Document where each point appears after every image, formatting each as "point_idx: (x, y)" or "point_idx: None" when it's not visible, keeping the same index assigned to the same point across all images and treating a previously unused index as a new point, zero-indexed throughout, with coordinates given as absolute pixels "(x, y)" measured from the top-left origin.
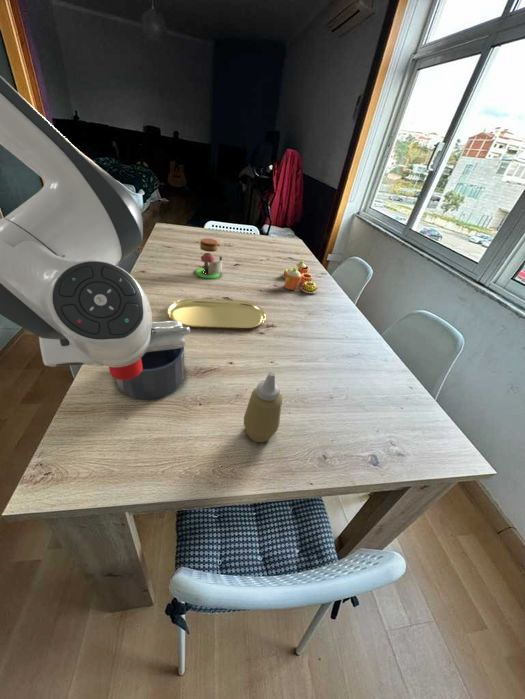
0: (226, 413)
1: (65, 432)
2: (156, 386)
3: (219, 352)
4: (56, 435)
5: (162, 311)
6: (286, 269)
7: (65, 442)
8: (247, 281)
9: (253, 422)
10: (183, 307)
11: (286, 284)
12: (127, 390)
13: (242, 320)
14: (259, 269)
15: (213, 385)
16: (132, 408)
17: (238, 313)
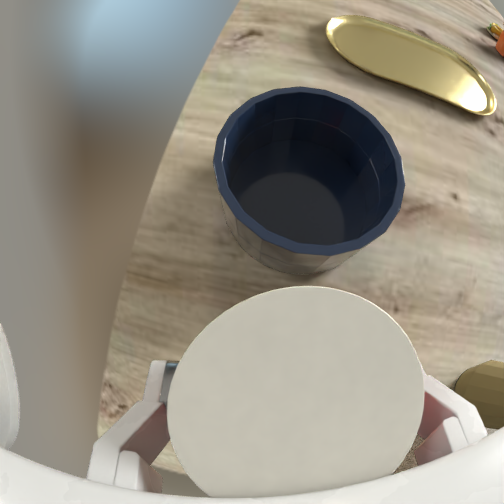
0: (435, 341)
1: (133, 328)
2: (319, 267)
3: (434, 158)
4: (120, 330)
5: (313, 29)
6: (493, 23)
7: (136, 352)
8: (443, 15)
9: (483, 421)
10: (352, 28)
11: (500, 47)
12: (246, 249)
13: (460, 89)
14: (452, 4)
15: (424, 256)
16: (255, 294)
17: (450, 71)
